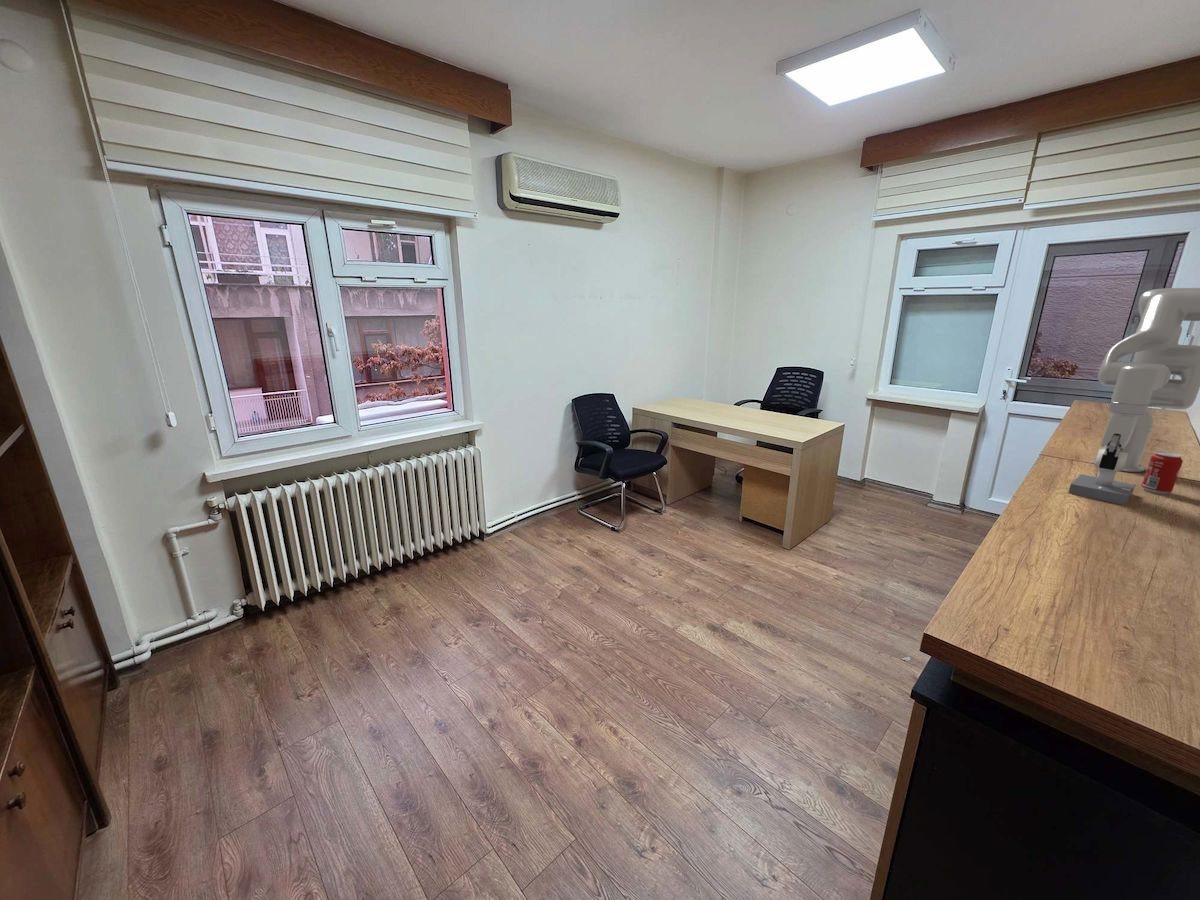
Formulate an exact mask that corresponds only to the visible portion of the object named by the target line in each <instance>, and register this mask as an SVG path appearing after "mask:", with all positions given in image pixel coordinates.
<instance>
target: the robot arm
mask: <svg viewBox="0 0 1200 900" xmlns="http://www.w3.org/2000/svg"><path fill="white" fill-rule="evenodd" d="M1138 313H1139V316H1140V321H1139V323H1138V326H1137V329H1136V330H1135V333H1134V334H1132V335H1129V336H1127V337H1125V338H1124V339H1122V340H1120V341H1118V342H1117V343H1115V344H1114V345H1113V346H1112V347H1110V348H1109V349H1108V351H1107V353H1106V354H1105V356H1104V358H1103V360H1102V363H1101V365H1100V367H1099V370H1098V373H1097V381H1098V382H1099V384H1100V385H1102V386H1106V387H1114V389H1113V393H1112V395H1111V399H1110V400H1109V401H1110V402H1109V406H1108V409H1107V410H1106V411H1107V413H1108V414H1111V415H1110V417H1109V419H1108V422H1107V425H1106V428H1105V431H1104V433H1103V436H1102V440H1101V442H1100V446H1101V447H1103V448H1102V449H1106V450H1105V452H1104V454H1103V455H1102V459H1101V462H1100V465H1099V467H1100V468H1104V469H1109V470H1114V469H1115V467H1116V464H1117V460H1118V457H1117V456H1118V453H1119V451H1123V452H1126V453H1128V456H1127V459H1126V462H1125V465H1124V468H1123V471H1122V472H1129V473H1141V472H1144V471H1145V467H1144V466H1143V465H1141V464H1140V462H1141V459H1142V456H1143V454H1144V450H1145V448H1146V444H1147V441H1148V438H1149V436H1150V433H1151V430H1152V426H1153V425H1154V417H1153V415H1152V414H1151V412H1150V410H1148V408H1149V407H1150V408H1158V409H1159V408H1160V409H1162V408H1163V409H1170V410H1186V409H1189V408H1190V407H1192V406H1193V404H1194V403H1195V401H1196V398H1197V396H1198V394H1199V390H1200V345H1194V344H1192V345H1191V344H1179V342H1180V341H1179V340H1180V338H1181V334H1182V331H1183V327H1182V324H1183V322H1185V321H1186V322H1188V321H1191V322H1192V321H1193V322H1200V287H1168V288H1164V287H1163V288H1155V289H1154V288H1153V289H1150V290H1147V291H1145V292H1143V293H1142V294H1141V295H1140V297H1139V299H1138ZM1134 353H1135V355H1134V358H1133V361H1123V360H1122V361H1121V360H1119V359H1121V358H1123V357H1125V356H1127V355H1131V354H1134ZM1171 375H1172V376H1174V375H1175V376H1179V377H1180V379H1179V378H1178V379H1176V378H1171ZM1096 459H1097V457H1096V458H1093V460H1092V463H1093V464H1094V465H1095V462H1096Z"/></svg>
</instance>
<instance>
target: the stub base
mask: <svg viewBox="0 0 1200 900" xmlns="http://www.w3.org/2000/svg"><path fill="white" fill-rule="evenodd" d="M1116 474H1117V471H1111V470H1105V469H1101V468H1098V471H1097V474H1096V476H1091V475H1087V474H1080V475H1079V476H1077V477H1076V478H1075V479H1074V480H1073V481H1072V482H1071V483H1070V487H1069V490H1068V494H1070V493H1072V494H1071V495H1075V494H1076V495H1075V496H1080V495H1081V496H1080V497H1086V498H1089V499H1093V500H1098V501H1103V502H1106V503H1107V502H1108V503H1113V504H1116V503H1117V505H1121V504H1122V505H1121V506H1126V505H1127V502H1128V501H1129V500H1130V498H1131V497H1132V496H1133V493H1134V490H1135V487H1136V484H1134V483H1129V482H1128V483H1127V482H1122V481H1117V480H1114V479H1115V477H1116ZM1130 496H1131V497H1130ZM1125 504H1126V505H1125Z"/></svg>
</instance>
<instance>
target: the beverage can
mask: <svg viewBox="0 0 1200 900" xmlns="http://www.w3.org/2000/svg"><path fill="white" fill-rule="evenodd" d="M1181 457H1182V455H1181V454H1178V453H1173V452H1170V451H1169V452H1168V451H1156V452H1155V453H1154V454H1153V455H1151V457H1150V460H1149V462H1148V464H1147V469H1146V471H1145V474H1144V476H1143V480H1142V483H1141V487H1142V488H1143V490H1144V491H1146V492H1149V493H1153V494H1157V495H1158V494H1159V495H1167V494H1169V493H1171V492H1172V491H1173V489H1174V487H1175V484H1176V482H1177V479H1178V476H1179V473H1180V470H1181V469H1182V468H1181V467H1182V465H1183V462H1184V460H1183V459H1182V458H1181Z"/></svg>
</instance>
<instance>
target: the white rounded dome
mask: <svg viewBox="0 0 1200 900" xmlns="http://www.w3.org/2000/svg"><path fill="white" fill-rule="evenodd" d="M1105 450H1106V449H1103V448H1099V449H1098V452H1097V455H1096V458H1097V459H1096V458H1095V459H1096V462H1095V464H1094V467H1095V468H1098V469H1099V468H1100V467H1099V465H1100V462H1101V459H1102V455H1103V454H1104V452H1105ZM1127 456H1128V453H1126V452H1123V451H1119V453H1118V456H1117V457H1118V460H1117V464H1116V467H1115V469H1114V470H1111V471H1116V472H1124V471H1123V468H1124V465H1125V462H1126V459H1127ZM1101 469H1104V468H1101ZM1105 470H1109V469H1105Z"/></svg>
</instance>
